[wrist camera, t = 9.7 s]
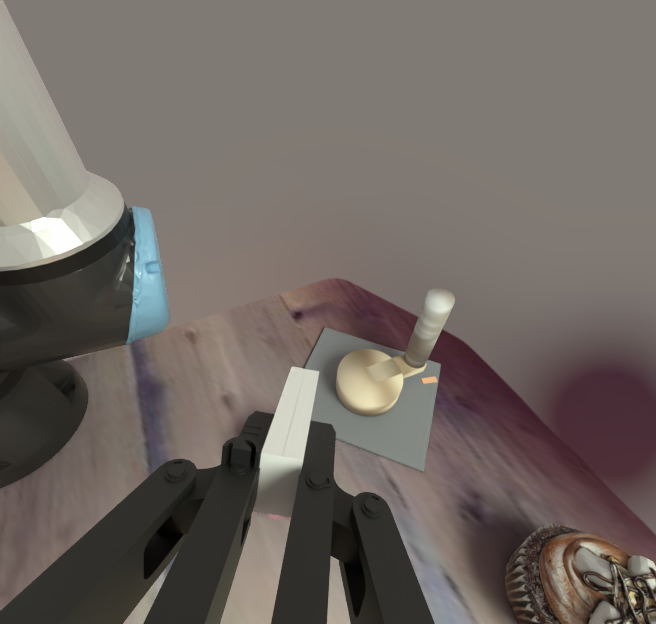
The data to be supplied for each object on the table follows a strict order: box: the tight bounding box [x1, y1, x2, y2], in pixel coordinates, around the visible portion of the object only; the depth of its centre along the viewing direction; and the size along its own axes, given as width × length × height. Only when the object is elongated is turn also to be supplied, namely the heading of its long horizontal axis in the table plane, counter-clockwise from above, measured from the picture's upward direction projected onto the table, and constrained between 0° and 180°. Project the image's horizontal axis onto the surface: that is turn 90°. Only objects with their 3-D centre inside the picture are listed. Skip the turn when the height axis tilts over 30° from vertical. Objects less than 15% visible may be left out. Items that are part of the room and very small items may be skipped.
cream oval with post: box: [336, 288, 455, 417], centre depth 38 cm, size 12×8×14 cm
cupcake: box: [505, 523, 656, 624], centre depth 26 cm, size 10×10×10 cm
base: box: [304, 327, 441, 472], centre depth 43 cm, size 17×15×1 cm
